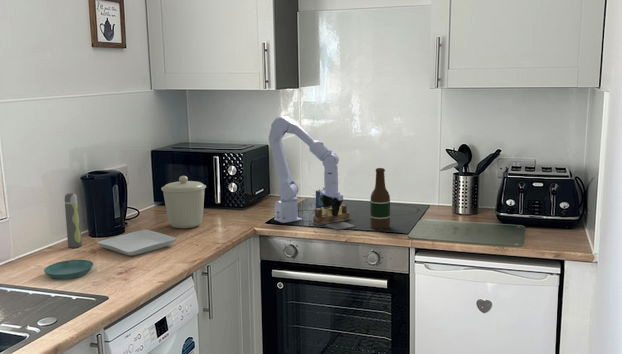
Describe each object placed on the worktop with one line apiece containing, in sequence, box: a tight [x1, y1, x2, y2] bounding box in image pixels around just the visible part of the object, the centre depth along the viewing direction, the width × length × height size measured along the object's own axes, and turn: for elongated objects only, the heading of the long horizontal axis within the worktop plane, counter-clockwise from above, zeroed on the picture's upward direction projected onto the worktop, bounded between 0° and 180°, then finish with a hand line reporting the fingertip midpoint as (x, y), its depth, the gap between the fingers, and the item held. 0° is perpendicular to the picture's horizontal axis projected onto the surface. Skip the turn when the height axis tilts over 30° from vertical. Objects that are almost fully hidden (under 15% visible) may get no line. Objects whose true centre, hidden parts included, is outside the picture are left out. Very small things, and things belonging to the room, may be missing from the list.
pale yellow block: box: [321, 206, 342, 217], centre depth 255 cm, size 7×5×4 cm
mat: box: [324, 221, 356, 231], centre depth 247 cm, size 9×9×1 cm
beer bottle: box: [369, 167, 391, 231], centre depth 242 cm, size 8×8×24 cm
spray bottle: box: [64, 193, 83, 249], centre depth 224 cm, size 5×5×20 cm
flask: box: [315, 187, 334, 209], centre depth 275 cm, size 9×3×11 cm, turn 61°
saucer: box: [43, 259, 94, 281], centre depth 194 cm, size 15×15×3 cm
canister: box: [161, 175, 207, 230], centre depth 251 cm, size 18×18×21 cm
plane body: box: [312, 204, 351, 226], centre depth 255 cm, size 16×4×6 cm, turn 122°
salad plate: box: [97, 228, 178, 257], centre depth 222 cm, size 21×21×3 cm
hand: (331, 214), depth 255 cm, fingers closed on pale yellow block, 5 cm apart
